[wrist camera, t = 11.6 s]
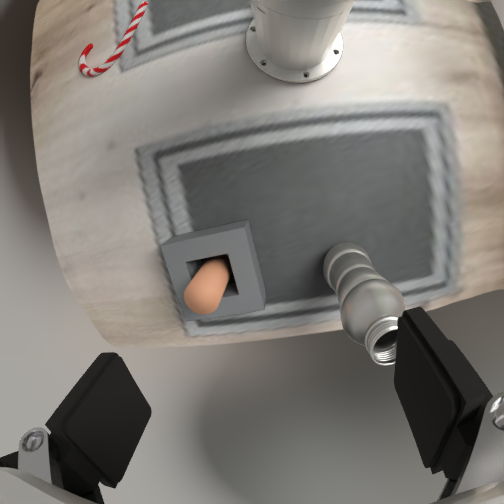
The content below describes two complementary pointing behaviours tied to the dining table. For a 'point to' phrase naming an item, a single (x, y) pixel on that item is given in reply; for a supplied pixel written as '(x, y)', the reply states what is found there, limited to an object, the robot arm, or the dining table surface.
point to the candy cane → (119, 49)
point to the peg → (208, 285)
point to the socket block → (213, 244)
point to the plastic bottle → (364, 301)
